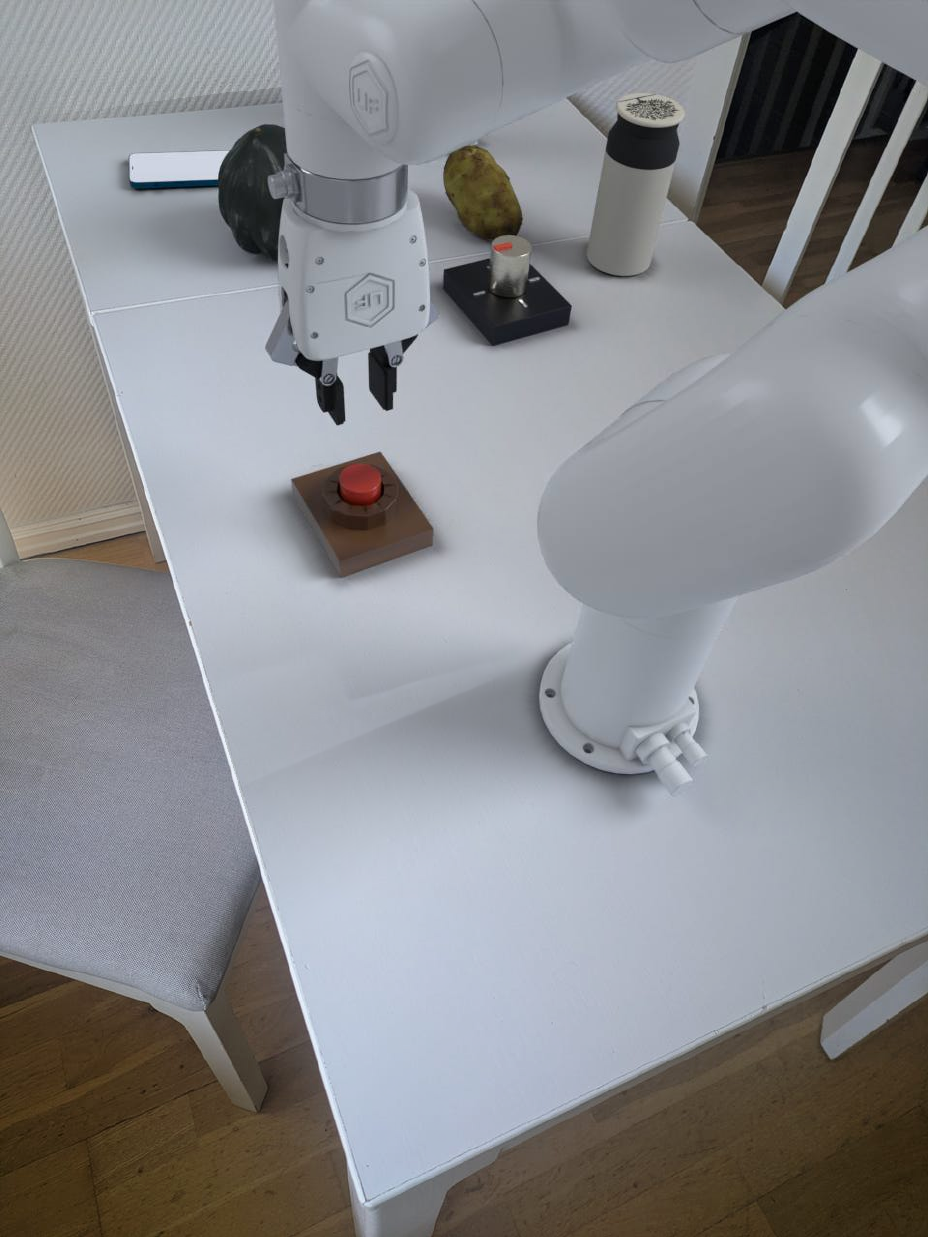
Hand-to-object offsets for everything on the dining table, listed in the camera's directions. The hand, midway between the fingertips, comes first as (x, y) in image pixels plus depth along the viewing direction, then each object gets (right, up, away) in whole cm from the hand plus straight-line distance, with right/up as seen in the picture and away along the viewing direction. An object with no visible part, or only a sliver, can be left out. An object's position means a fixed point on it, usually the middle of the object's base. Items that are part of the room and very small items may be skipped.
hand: (357, 405), depth 72 cm
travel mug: (+28, +27, +40) cm, 56 cm away
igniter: (-1, -8, +11) cm, 13 cm away
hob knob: (+13, +21, +30) cm, 39 cm away
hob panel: (+13, +19, +32) cm, 40 cm away
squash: (-13, +29, +38) cm, 49 cm away
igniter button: (-1, -6, +8) cm, 10 cm away
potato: (+10, +33, +43) cm, 56 cm away
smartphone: (-27, +41, +46) cm, 68 cm away
